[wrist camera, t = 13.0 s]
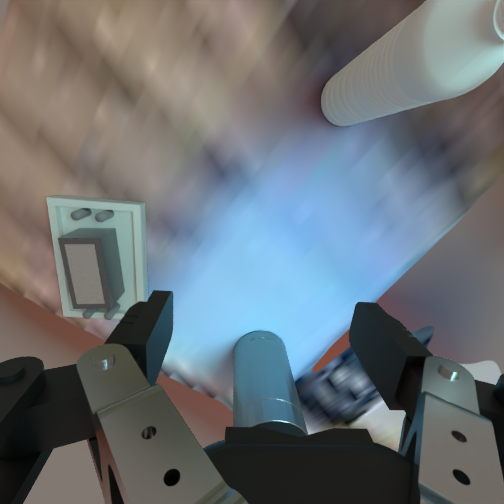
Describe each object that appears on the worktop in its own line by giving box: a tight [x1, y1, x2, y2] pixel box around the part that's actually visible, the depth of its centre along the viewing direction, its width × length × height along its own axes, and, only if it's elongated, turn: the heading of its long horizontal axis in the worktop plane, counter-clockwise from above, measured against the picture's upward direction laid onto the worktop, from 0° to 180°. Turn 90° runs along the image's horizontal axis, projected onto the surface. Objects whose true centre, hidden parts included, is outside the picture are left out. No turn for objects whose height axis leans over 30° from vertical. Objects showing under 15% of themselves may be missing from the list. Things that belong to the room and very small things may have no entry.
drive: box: [58, 228, 125, 309], centre depth 38 cm, size 10×5×5 cm, turn 179°
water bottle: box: [321, 0, 504, 126], centre depth 25 cm, size 9×6×25 cm
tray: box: [46, 195, 148, 320], centre depth 40 cm, size 18×12×4 cm, turn 175°
